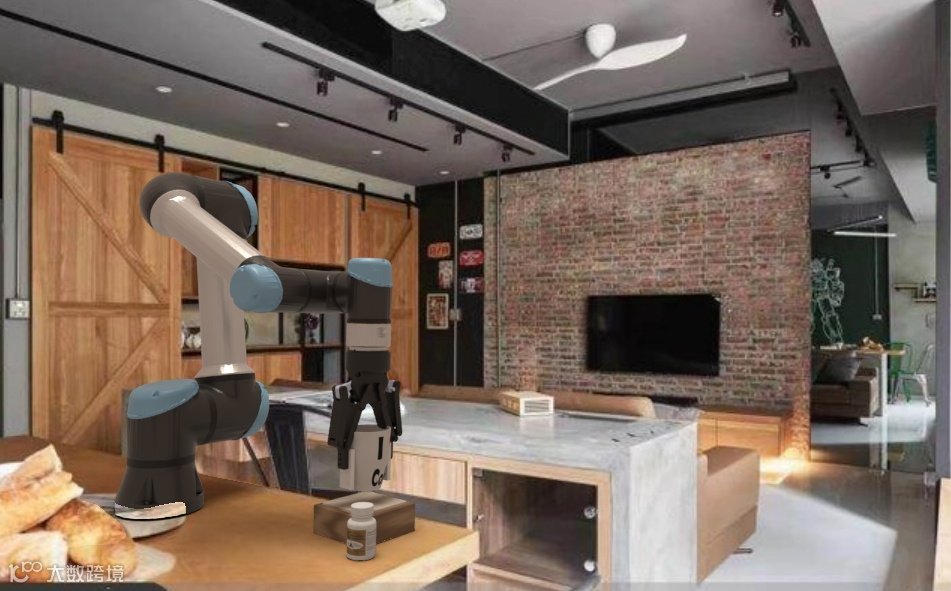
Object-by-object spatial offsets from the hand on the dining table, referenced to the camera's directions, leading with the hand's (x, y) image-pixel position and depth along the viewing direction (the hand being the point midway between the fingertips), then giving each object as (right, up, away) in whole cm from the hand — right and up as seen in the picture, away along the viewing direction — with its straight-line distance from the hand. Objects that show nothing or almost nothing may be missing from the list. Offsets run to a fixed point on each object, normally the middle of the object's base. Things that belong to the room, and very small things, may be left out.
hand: (365, 483), depth 112 cm
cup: (0, -1, 0) cm, 1 cm away
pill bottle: (+1, -8, -11) cm, 14 cm away
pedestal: (0, -8, 0) cm, 8 cm away
